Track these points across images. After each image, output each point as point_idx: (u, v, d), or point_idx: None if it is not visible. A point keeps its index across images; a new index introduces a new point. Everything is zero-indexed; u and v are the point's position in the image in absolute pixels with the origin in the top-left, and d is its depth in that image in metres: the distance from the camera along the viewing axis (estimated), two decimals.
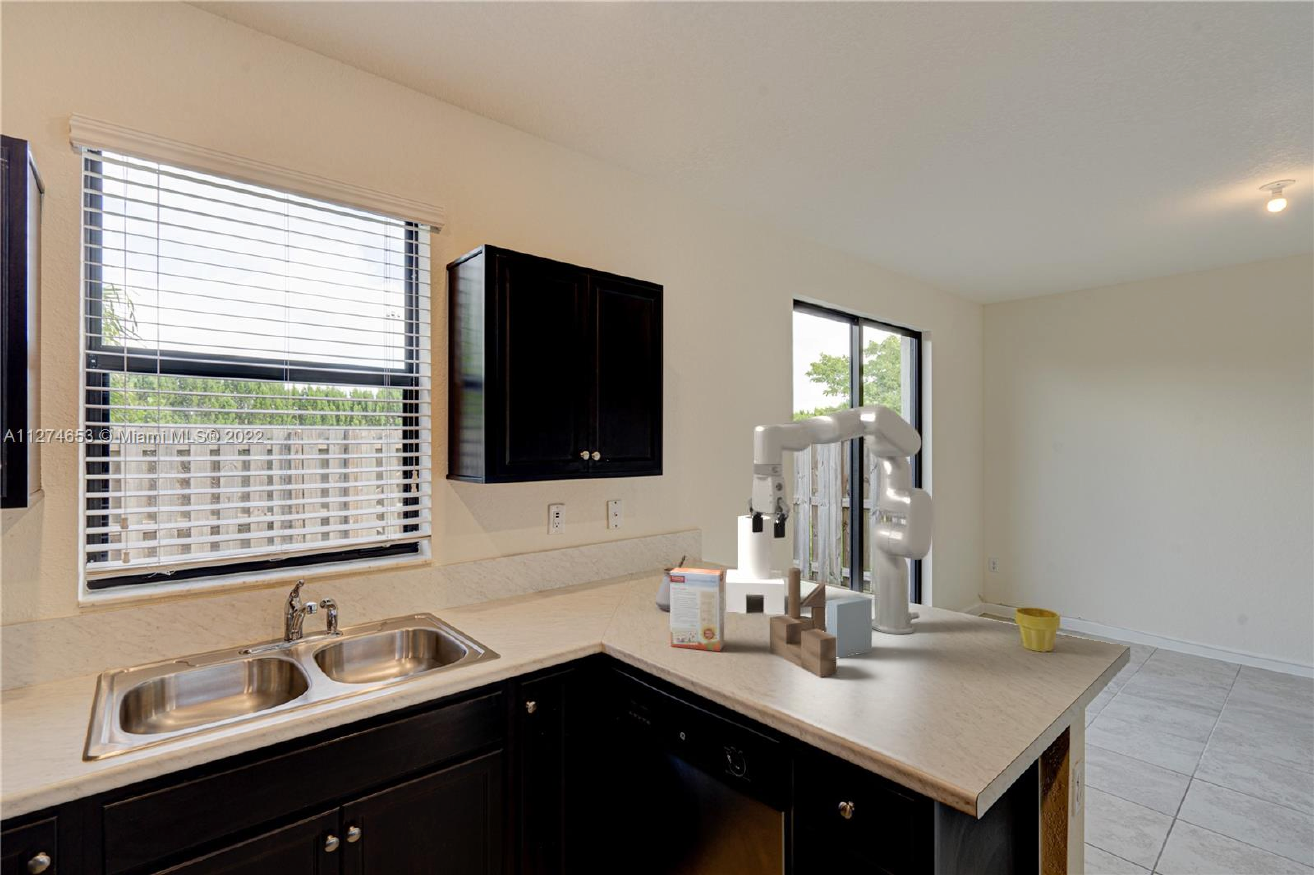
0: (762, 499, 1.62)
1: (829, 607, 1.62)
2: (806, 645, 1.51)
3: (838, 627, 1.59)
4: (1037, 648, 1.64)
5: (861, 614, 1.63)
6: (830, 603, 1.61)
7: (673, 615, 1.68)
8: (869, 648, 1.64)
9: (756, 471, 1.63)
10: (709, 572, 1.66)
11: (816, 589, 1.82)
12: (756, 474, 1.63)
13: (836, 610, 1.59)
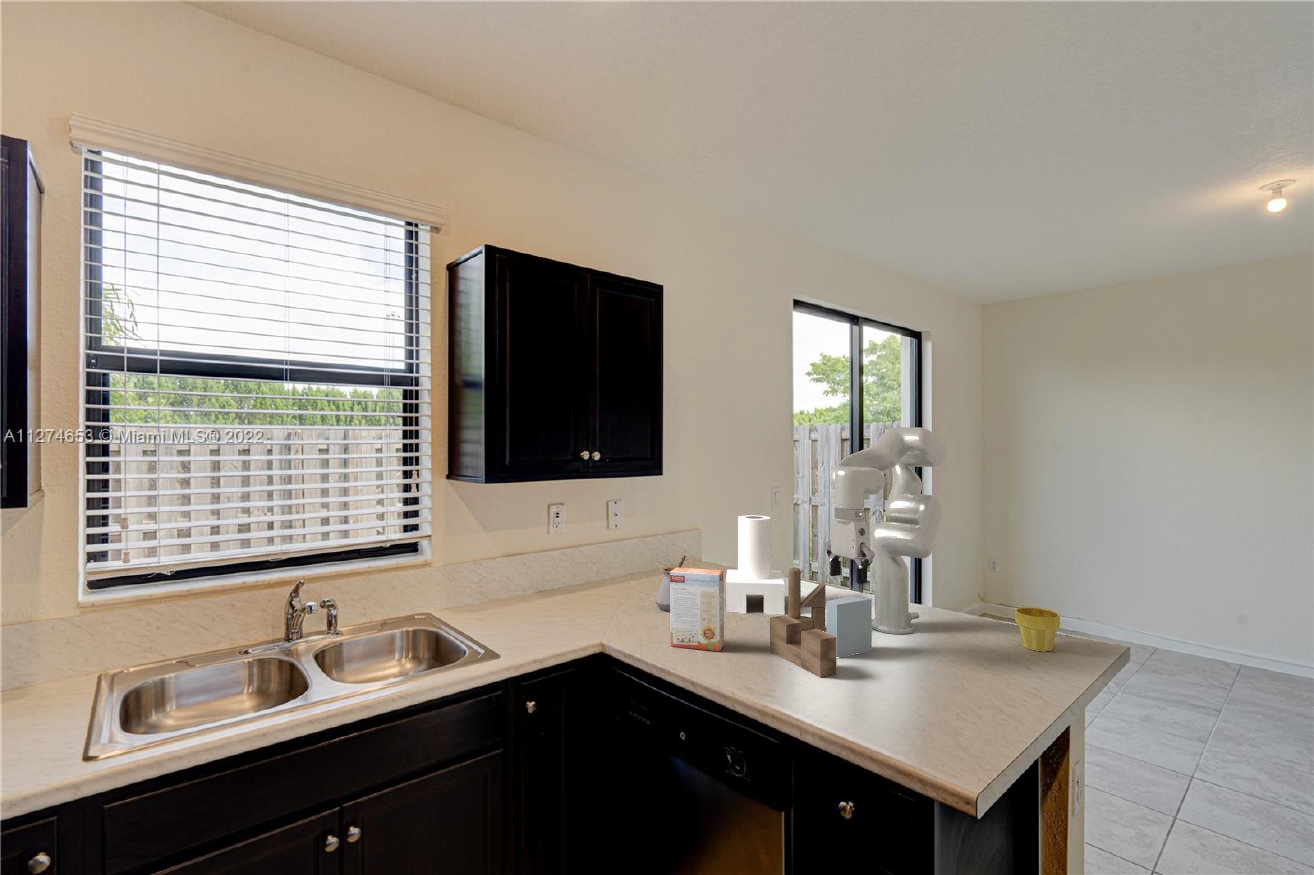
0: (843, 543, 1.62)
1: (829, 607, 1.62)
2: (806, 645, 1.51)
3: (838, 627, 1.59)
4: (1037, 648, 1.64)
5: (861, 614, 1.63)
6: (830, 603, 1.61)
7: (673, 615, 1.68)
8: (869, 648, 1.64)
9: (837, 515, 1.62)
10: (709, 572, 1.66)
11: (816, 589, 1.82)
12: (837, 518, 1.62)
13: (836, 610, 1.59)
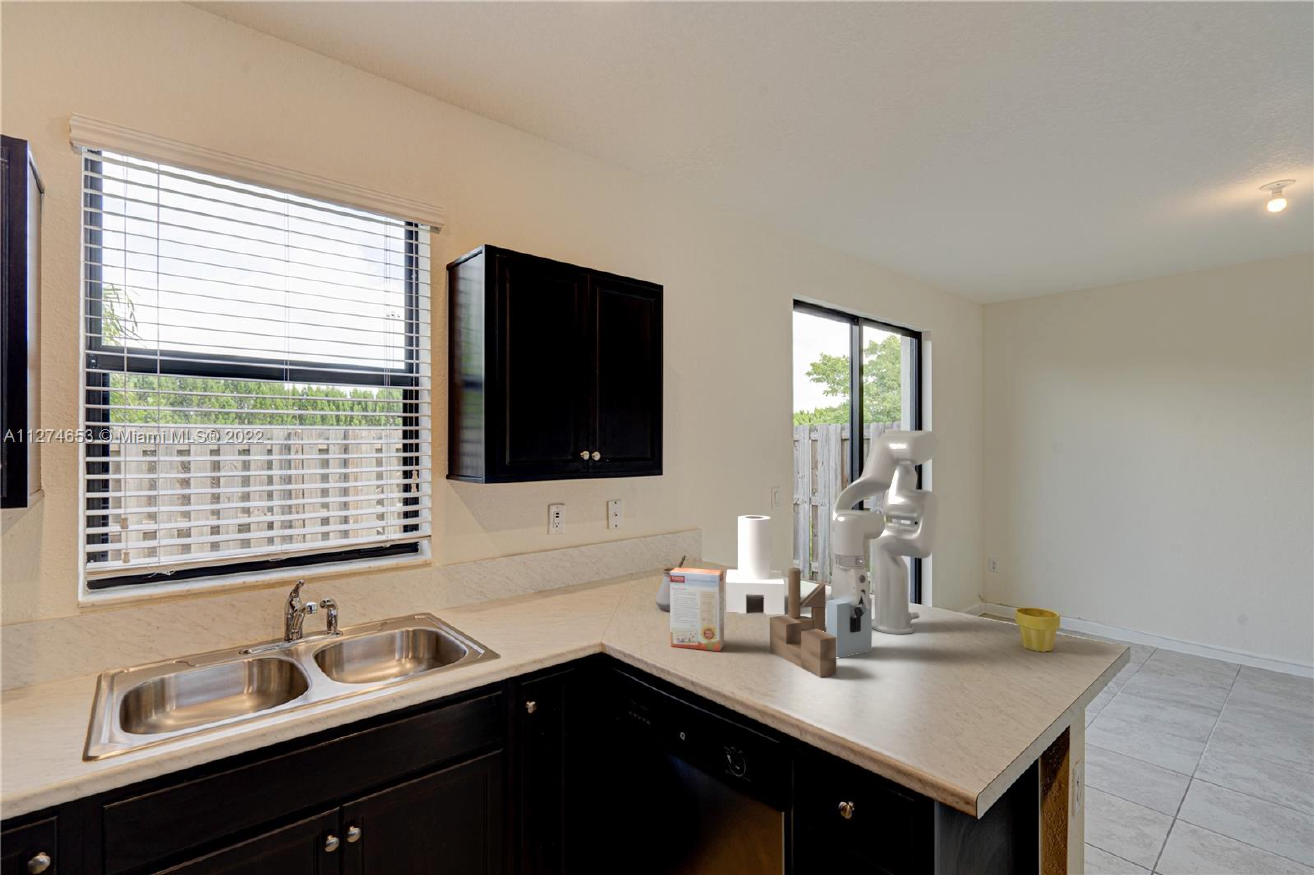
0: (844, 590, 1.62)
1: (829, 607, 1.62)
2: (806, 645, 1.51)
3: (838, 627, 1.59)
4: (1037, 648, 1.64)
5: None
6: (830, 603, 1.61)
7: (673, 615, 1.68)
8: (869, 648, 1.64)
9: (838, 561, 1.62)
10: (709, 572, 1.66)
11: (816, 589, 1.82)
12: (838, 564, 1.62)
13: (836, 610, 1.59)
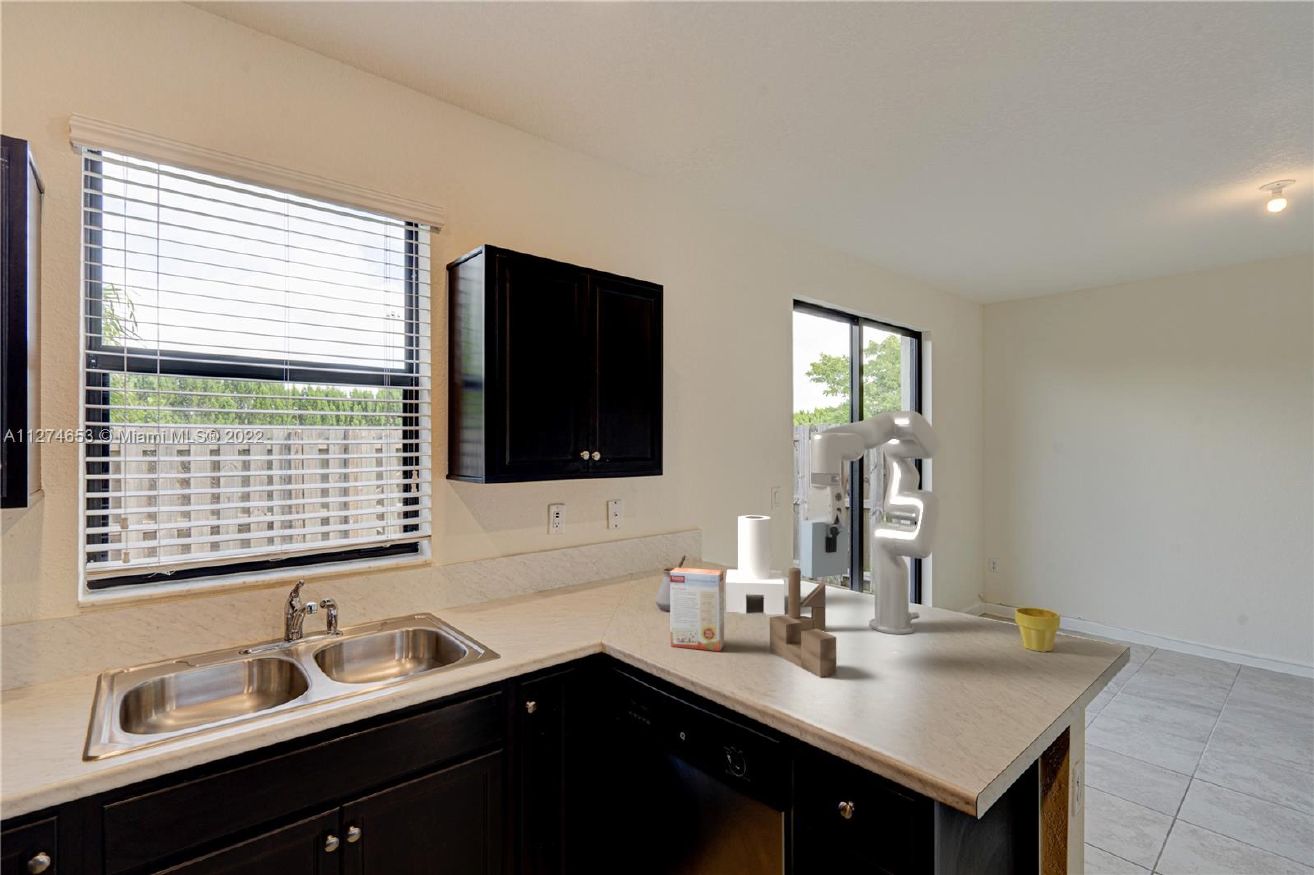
0: (820, 509, 1.58)
1: (804, 526, 1.58)
2: (806, 645, 1.51)
3: (813, 546, 1.55)
4: (1037, 648, 1.64)
5: None
6: (805, 522, 1.58)
7: (673, 615, 1.68)
8: (845, 571, 1.60)
9: (814, 480, 1.58)
10: (709, 572, 1.66)
11: (816, 589, 1.82)
12: (814, 483, 1.58)
13: (811, 528, 1.55)
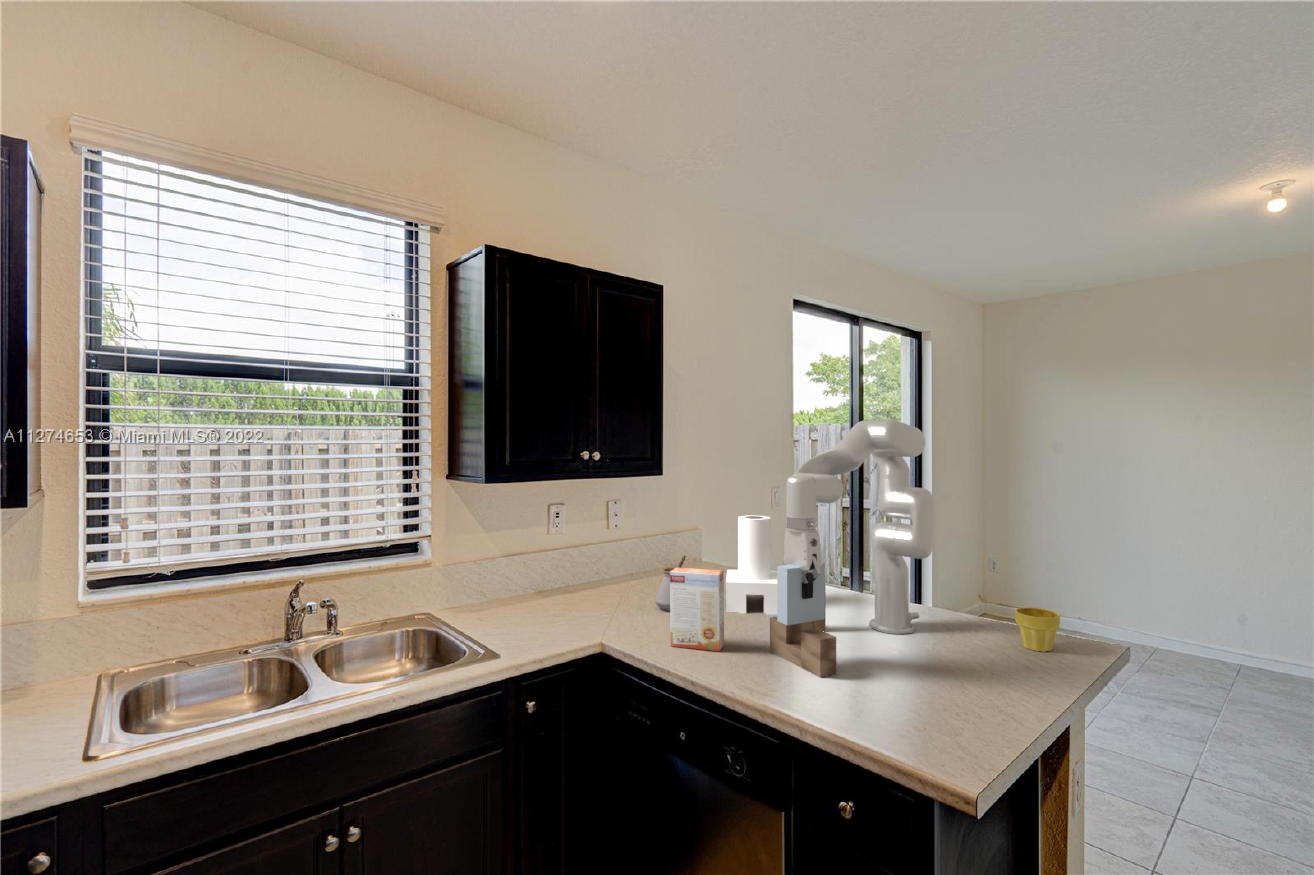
0: (795, 554, 1.55)
1: (780, 572, 1.55)
2: (806, 645, 1.51)
3: (788, 593, 1.52)
4: (1037, 648, 1.64)
5: None
6: (780, 568, 1.54)
7: (673, 615, 1.68)
8: (822, 616, 1.57)
9: (789, 525, 1.55)
10: (709, 572, 1.66)
11: None
12: (789, 528, 1.55)
13: (786, 575, 1.52)
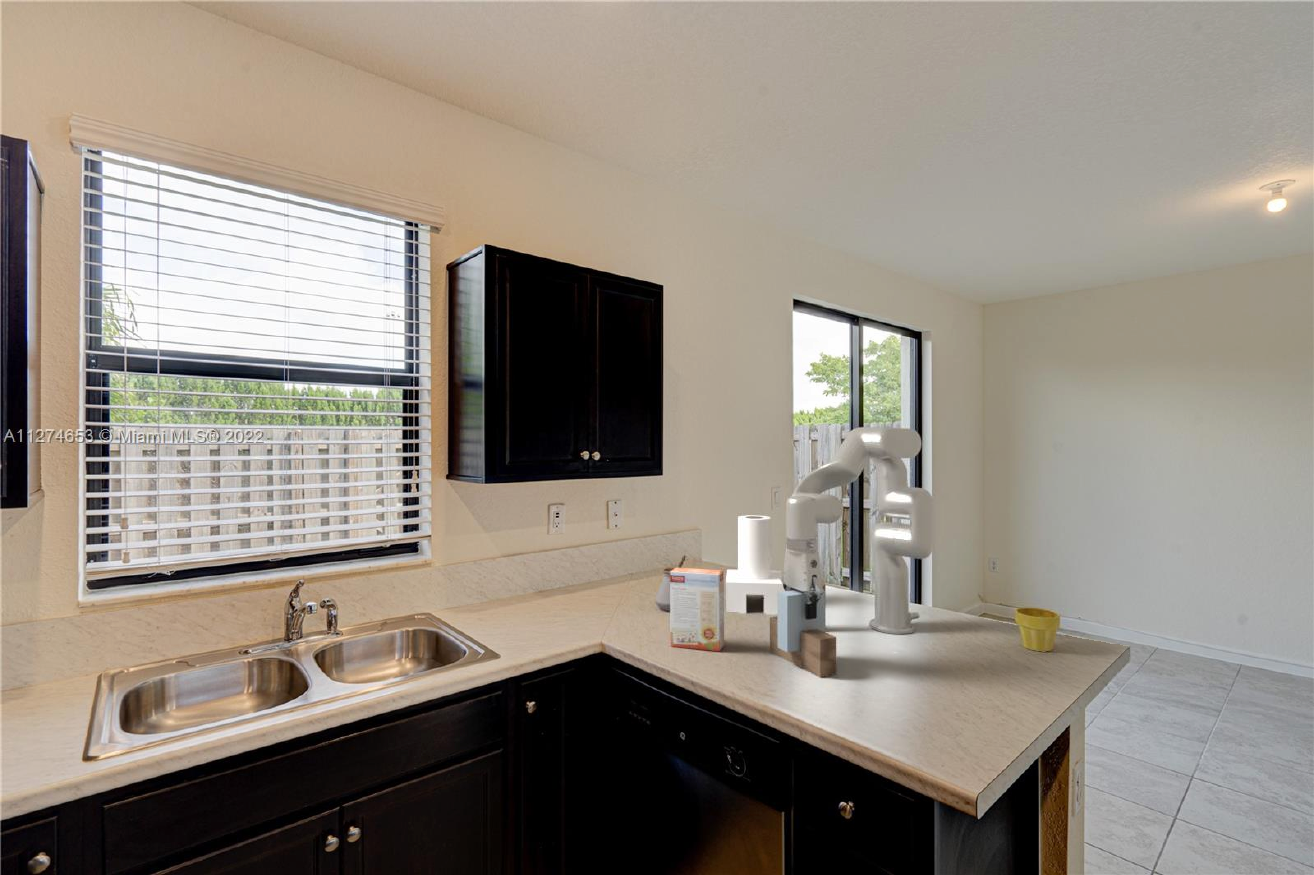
0: (795, 575, 1.55)
1: (780, 599, 1.55)
2: (806, 645, 1.51)
3: (788, 620, 1.52)
4: (1037, 648, 1.64)
5: None
6: (781, 595, 1.54)
7: (673, 615, 1.68)
8: None
9: (789, 546, 1.55)
10: (709, 572, 1.66)
11: None
12: (789, 549, 1.55)
13: (786, 602, 1.52)
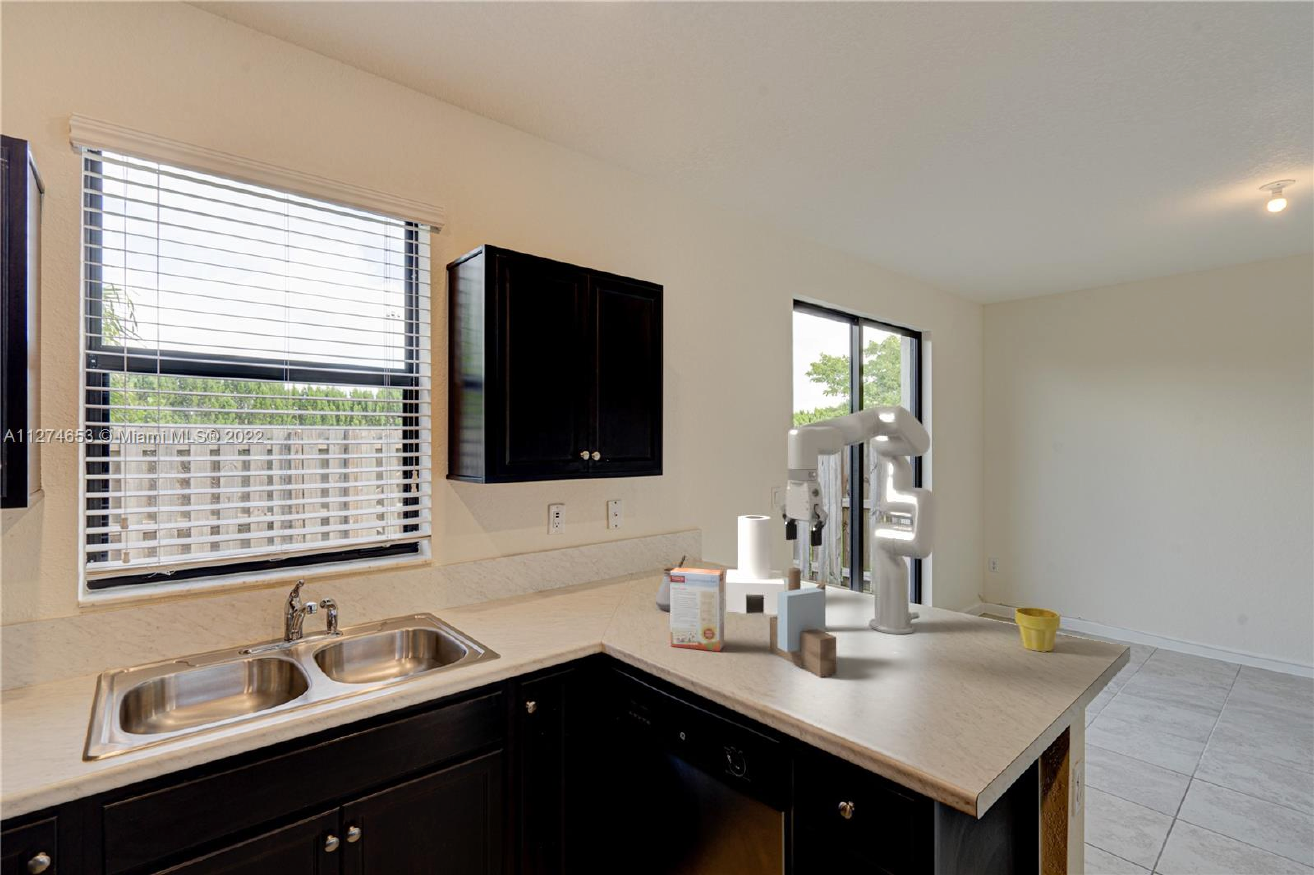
0: (797, 505, 1.56)
1: (780, 599, 1.55)
2: (806, 645, 1.51)
3: (788, 620, 1.52)
4: (1037, 648, 1.64)
5: (814, 606, 1.56)
6: (781, 595, 1.54)
7: (673, 615, 1.68)
8: None
9: (791, 476, 1.56)
10: (709, 572, 1.66)
11: None
12: (791, 479, 1.56)
13: (786, 602, 1.52)
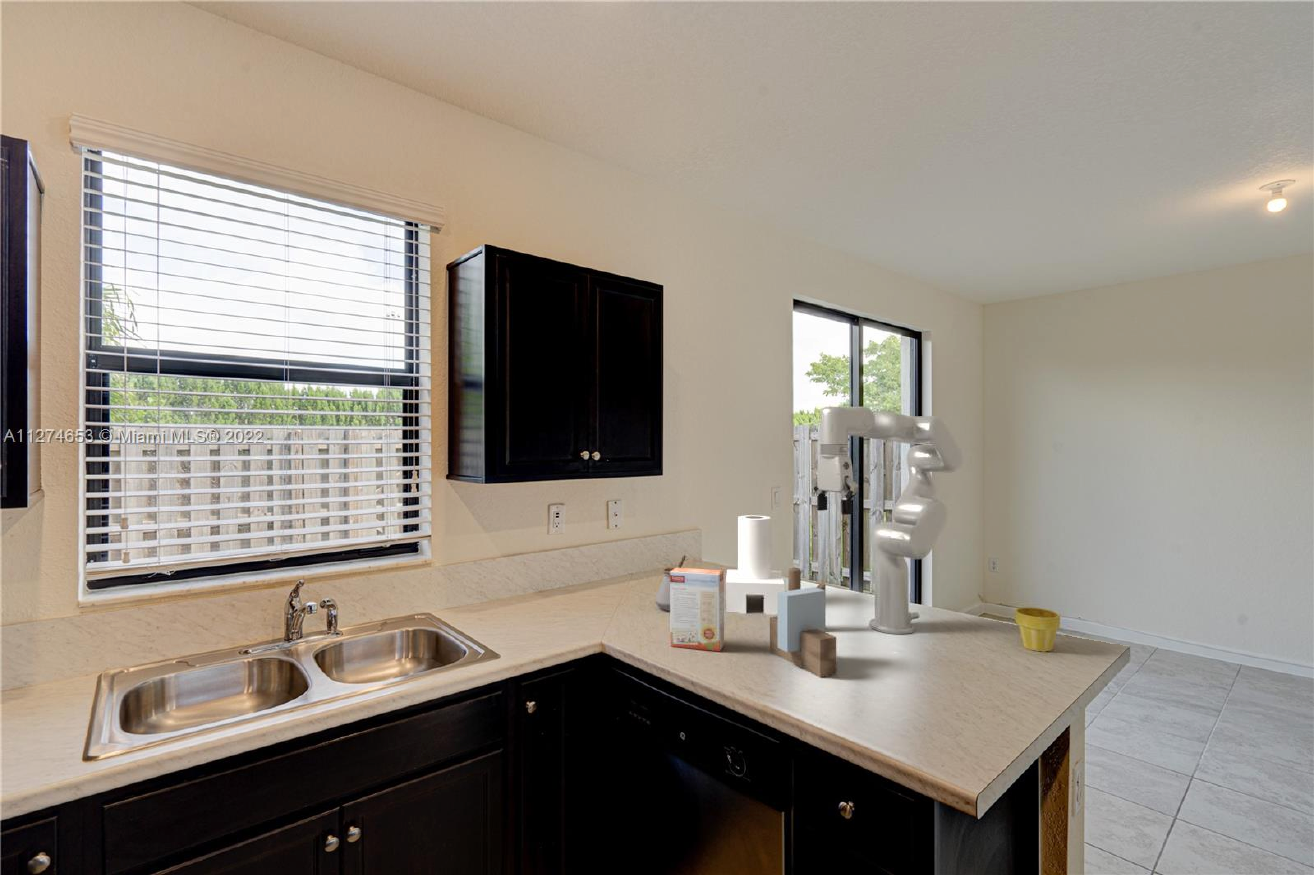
0: (829, 478, 1.70)
1: (780, 599, 1.55)
2: (806, 645, 1.51)
3: (788, 620, 1.52)
4: (1037, 648, 1.64)
5: (814, 606, 1.56)
6: (781, 595, 1.54)
7: (673, 615, 1.68)
8: None
9: (823, 451, 1.70)
10: (709, 572, 1.66)
11: None
12: (823, 454, 1.70)
13: (786, 602, 1.52)
